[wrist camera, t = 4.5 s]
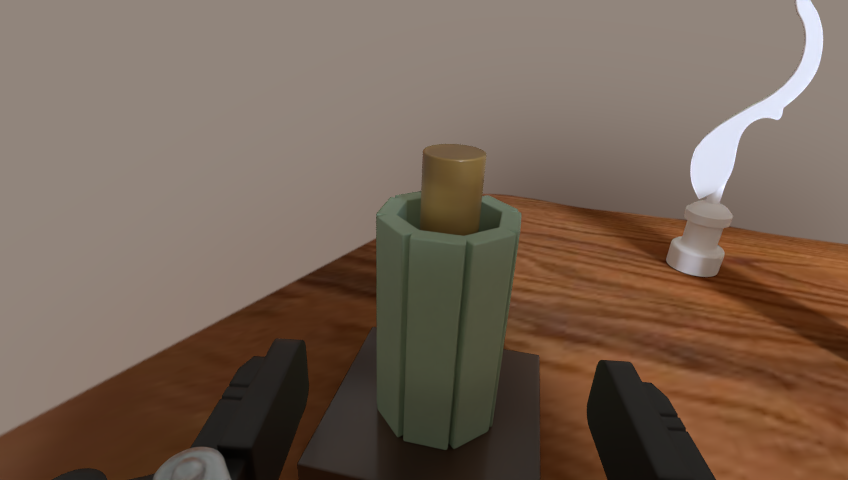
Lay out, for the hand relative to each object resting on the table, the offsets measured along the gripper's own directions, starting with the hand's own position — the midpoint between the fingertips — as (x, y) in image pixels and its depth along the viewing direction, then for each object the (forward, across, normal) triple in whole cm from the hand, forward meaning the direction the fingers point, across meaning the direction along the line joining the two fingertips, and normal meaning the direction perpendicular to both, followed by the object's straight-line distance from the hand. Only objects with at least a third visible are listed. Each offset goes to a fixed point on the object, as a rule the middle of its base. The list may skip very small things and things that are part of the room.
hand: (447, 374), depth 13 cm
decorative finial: (+27, -23, +10) cm, 36 cm away
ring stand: (+7, 0, +10) cm, 12 cm away
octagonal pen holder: (+7, 0, +8) cm, 11 cm away
